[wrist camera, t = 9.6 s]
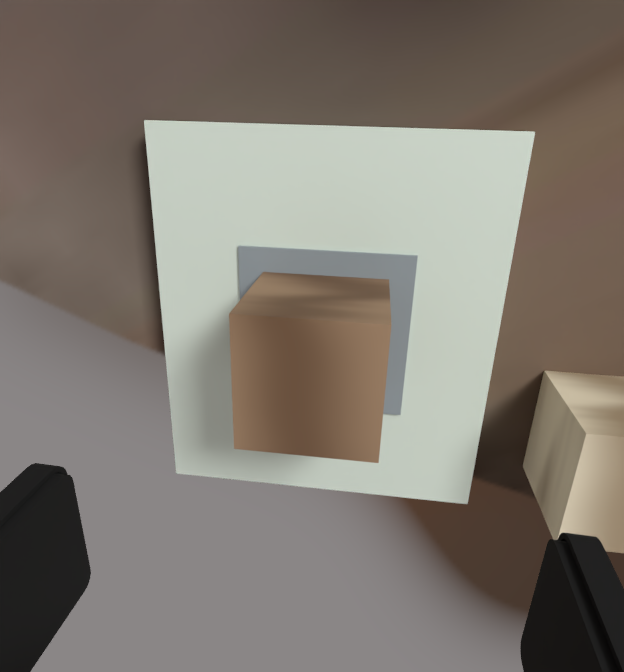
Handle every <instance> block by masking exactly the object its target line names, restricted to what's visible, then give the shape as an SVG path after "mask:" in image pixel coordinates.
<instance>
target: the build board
mask: <svg viewBox="0 0 624 672" xmlns="http://www.w3.org/2000/svg"><path fill="white" fill-rule="evenodd" d="M144 126H145V137H146V148H147V159H148V170H149V181H150V192H151V203H152V214H153V225H154V236H155V247H156V258H157V269H158V280H159V291H160V302H161V313H162V324H163V335H164V346H165V357H166V368H167V378H168V389H169V401H170V412H171V422H172V434H173V445H174V456H175V467H176V474H186V475H197V476H206V477H215V478H224V479H233V480H243V481H252V482H262V483H271V484H281V485H291V486H299V487H309V488H318V489H328V490H338V491H347V492H357V493H366V494H375V495H386V496H395V497H404V498H413V499H424V500H433V501H442V502H452V503H461V504H468V499H469V494H470V488H471V483H472V477H473V472H474V466H475V461H476V455H477V450H478V444H479V439H480V433H481V427H482V422H483V416H484V411H485V405H486V400H487V394H488V389H489V383H490V378H491V372H492V367H493V361H494V356H495V350H496V345H497V339H498V334H499V328H500V323H501V317H502V312H503V306H504V301H505V295H506V290H507V284H508V279H509V273H510V268H511V262H512V257H513V251H514V245H515V240H516V234H517V229H518V223H519V218H520V212H521V207H522V201H523V196H524V190H525V185H526V179H527V174H528V168H529V163H530V157H531V152H532V146H533V141H534V135H535V132H528V131H494V130H461V129H427V128H393V127H359V126H325V125H292V124H258V123H224V122H190V121H157V120H144ZM263 272H274V273H291V274H307V275H324V276H340V277H357V278H373V279H389V288H390V307H391V335H390V346H389V357H388V367H387V378H386V389H385V399H384V410H383V421H382V431H381V442H380V453H379V463H372V462H362V461H352V460H341V459H331V458H321V457H311V456H301V455H291V454H281V453H271V452H260V451H250V450H240V449H234V436H233V409H232V382H231V355H230V328H229V313H230V312H231V311H232V309H233V308H234V307H235V306H236V304H237V303H238V302H239V301H240V300H241V298H242V297H243V296H244V295H245V294H246V292H247V291H248V290H249V289H250V287H251V286H252V285H253V284H254V283H255V281H256V280H257V279H258V278H259V276H260V275H261V274H262V273H263Z"/></svg>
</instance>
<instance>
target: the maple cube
mask: <svg viewBox="0 0 624 672" xmlns="http://www.w3.org/2000/svg"><path fill="white" fill-rule="evenodd" d="M523 468H524V471H525V473H526V476H527V478H528V480H529V483H530V485H531V488H532V490H533V492H534V495H535V497H536V499H537V502H538V504H539V506H540V509H541V511H542V514H543V516H544V519H545V521H546V523H547V526H548V528H549V531H550V533H551V535H552V537H553V540H558V538H559V535H560V534H561V533H572V534H579V535H587V536H594V537H597V538H598V539H599V540H600V541H601V543H602V545H603V547H604V549H605V551H609V552H618V553H624V377H621V376H608V375H594V374H581V373H568V372H555V371H544V373H543V378H542V382H541V387H540V391H539V396H538V400H537V405H536V409H535V414H534V418H533V423H532V427H531V431H530V436H529V440H528V445H527V449H526V454H525V458H524V463H523Z"/></svg>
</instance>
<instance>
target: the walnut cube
mask: <svg viewBox="0 0 624 672" xmlns="http://www.w3.org/2000/svg"><path fill="white" fill-rule="evenodd" d="M229 328H230V355H231V382H232V409H233V436H234V449H240V450H250V451H260V452H271V453H281V454H291V455H301V456H311V457H321V458H331V459H341V460H352V461H362V462H372V463H379V453H380V442H381V431H382V421H383V410H384V399H385V389H386V378H387V367H388V357H389V346H390V335H391V307H390V288H389V279H373V278H357V277H340V276H324V275H307V274H291V273H274V272H263V273H262V274H261V275H260V276H259V278H258V279H257V280H256V281H255V283H254V284H253V285H252V286H251V287H250V289H249V290H248V291H247V292H246V294H245V295H244V296H243V297H242V298H241V300H240V301H239V302H238V303H237V304H236V306H235V307H234V308H233V309H232V311H231V312H230V313H229Z"/></svg>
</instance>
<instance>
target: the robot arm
mask: <svg viewBox="0 0 624 672" xmlns="http://www.w3.org/2000/svg"><path fill="white" fill-rule="evenodd" d="M90 574H91V572H90V565H89V560H88V555H87V549H86V544H85V539H84V534H83V529H82V524H81V519H80V513H79V509H78V503H77V498H76V493H75V488H74V483H73V479H72V477H71V476H70V475H67V472H66V470H65V469H64V468H63V467H60V466H53V465H45V464H37V463H35V464H32V465H30V466H29V467H27V468H26V469H25V470H24V471H23V472H22V473H21V474H20V475H19V476H18V477H16V478H15V479H14V480H13V481H12V482H11V483H10V484H9V485H8V486H7V487H6V488H5V489H4V490H2V491H1V492H0V672H30V671H31V670H32V668H33V667H34V665H35V664H36V662H37V661H38V659H39V657H40V656H41V655H42V653H43V652H44V650H45V649H46V647H47V646H48V644H49V643H50V642H51V640H52V638H53V637H54V635H55V634H56V633H57V631H58V629H59V628H60V627H61V625H62V624H63V622H64V621H65V619H66V618H67V616H68V615H69V613H70V612H71V610H72V609H73V607H74V606H75V604H76V603H77V601H78V600H79V599H80V597H81V596H82V594H83V592H84V591H85V589H86V588H87V585H88V583H89V579H90ZM521 660H522V665H523V670H524V672H624V589H623V587H622V585H621V582H620V580H619V578H618V577H617V574H616V572H615V570H614V568H613V566H612V564H611V562H610V559H609V557H608V555H607V553H606V551H605V549H604V547H603V545H602V543H601V541H600V540H599V539H598V538H597V537H594V536H587V535H579V534H572V533H561V534H560V535H559V538H558V540H553V539H550V540H549V542H548V544H547V547H546V551H545V555H544V558H543V562H542V565H541V569H540V573H539V576H538V580H537V584H536V588H535V591H534V595H533V598H532V602H531V606H530V609H529V613H528V617H527V620H526V624H525V628H524V631H523V635H522V639H521Z"/></svg>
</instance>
